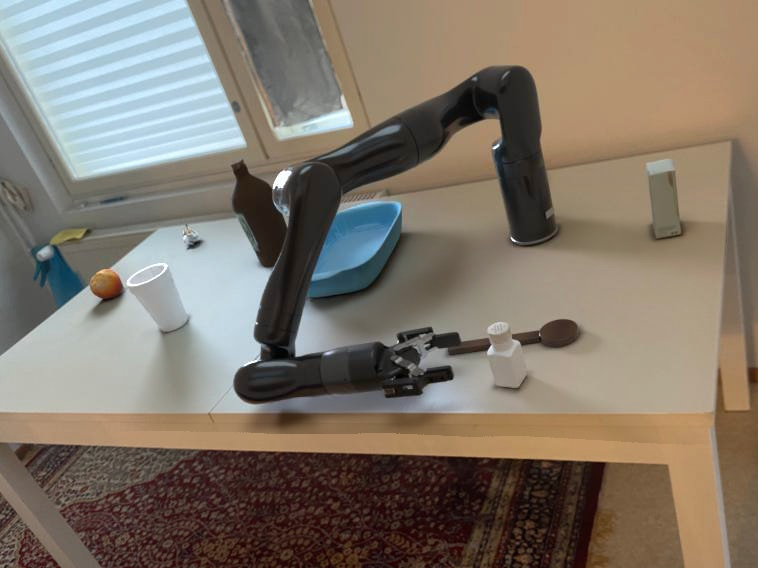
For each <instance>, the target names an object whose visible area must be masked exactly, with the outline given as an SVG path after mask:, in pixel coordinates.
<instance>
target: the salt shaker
mask: <svg viewBox="0 0 758 568" xmlns="http://www.w3.org/2000/svg"><path fill="white" fill-rule="evenodd" d="M486 332H487V336H488V338H489V340H490V343H491V344H492V345H491V347H490V348H489V349H487V352H486V354H487V355H486V356H487V360H488V363H489V367H490V371H491V374H492V377H493V381H494V384H495V385H496V386H497V387H504V388H513V389H516V388H517V389H518V388H519V387H520V386H521V384H522V383H523V381H524V380H525V378H526V377H527V376H528V375H527V374H528V368H527V364H526V360H525V356H524V352H523V348H522V345H521V344H520V342H519V341H517V340H513V339H512V334H513V333H512V331H511V327H510V324H509V323H508V322H505V321H497V322H494V323H492V324H490V325H489V326H488V327H487V330H486Z"/></svg>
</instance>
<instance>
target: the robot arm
mask: <svg viewBox="0 0 758 568" xmlns="http://www.w3.org/2000/svg"><path fill="white" fill-rule="evenodd" d="M538 94H539V93H538V89H537V85H536V82H535V79H534V77H533V74H532V73H531V72H530V70H529V69H528V68H527V67H525V66H523V65H518V64H503V65H502V64H499V65H498V64H497V65H489V66H487V67H486V66H485V67H484V68H481V69H480V70H478V71H477V72H475V73H473V74H472V75H470V76H469V77H467V78H466V79H465V80H463V81H461V82H459V83H458V84H457V85H456V86H453V88H451V89H449V90H447V91H445V92H444V93H442V94H438V95H437V96H434V97H431V98H429V99H426V100H424V101H422V102H420V103H418V104H415V105H413V106H411V107H408V108H406V109H404V110H402V111H400V112H397V113H396V114H394V115H392V116H390V117H388V118H387V119H385V120H382V121H381V122H379V123H377V124H376V125H374V126H371V127H370V128H369V129H366V130H365V131H363V132H362V133H360V134H359V135H357V136H355V137H353V138H351V140H349V141H347V142H346V143H344V144H343V145H340V146H339V147H337V148H334V149H333V150H330V151H327V152H326V153H322V154H320V155H318V156H315V157H312V158H309V159H305V160H304V161H300V162H297V163H294V164H291V165H289V166H286V167H285V168H284V169H282V171H281V172H280V173H279V174H278V175H277V177H276V178H275V180H274V182H273V185H272V189H273V190H272V197H273V201H274V204H275V206H276V208H277V209H278V210H279V211H280V212H281V213H282V214H283V216H284V217H287V218H288V222H287V223H288V224H287V228H288V229H287V234H286V238H285V241H284V245H283V247H282V250H281V253H280V256H279V258H278V260H277V262H276V264H275V265H273V268H272V269H271V273H270V274H269V277H268V278H267V281H266V282H265V286H264V288H263V291H262V294H261V297H260V300H259V306H258V308H257V313H256V317H255V322H254V326H253V335H252V337H253V339H254V340H255V342H256V343H258V344H259V345H260V351H259V359H258V360H257V359H256V360H251V361H248V362H246V363H244V364H242V365H241V366H240V367H239V368H238V369H237V370H236V372H235V373H234V376H233V380H232V387H233V391H234V393H235V394H236V396H237V398H239V399H240V400H241V401H242V402H244V403H246V404H249V405H252V406H253V405H254V406H255V405H257V406H258V405H268V404H275V403H279V402H281V401H284V400H291V399H298V398H302V399H303V398H305V399H306V398H321V397H329V396H347V395H356V394H364V393H370V392H371V393H372V392H378V391H382V393H383V396H384V398H385V399H395V398H396V399H397V398H406V397H407V398H408V397H418V396H422V395H423V393H424V388H427V387H429V386H430V385H431V384H437V383H438V384H439V383H446V382H448V381H453V380H454V378H455V373H454V370H453V367H452V366H451V365H449V364H448V365H440V366H433V367H427V368H426V369H424V368H421V367H419V366H420V364H421V361H423V360H425V359H426V358H427V357H428V354H429V353H431V352H433V351H435V350H437V349H438V350H441V349H448V348H449V347H456V346H460V345H461V342H462V339H461V336H460V333H459V332H457V331H450V332H445V333H438V334H436V333H435V332H434V329H433V327H432V326H427V327H426V326H425V327H420V328H415V329H411V330H406V331H400V332H397V333H396V334H395V335H396V338H397V339H396V340H397V342H396V343H395V344H393V345H390V346H387V345H385V344H384V343H382V342H381V341H371V342H365V343H358V344H353V345H346V346H340V347H336V348H332V349H329V350H325V351H318V352H311V353H306V354H302V355H297V351H296V349H297V348H296V341H297V338H298V334H299V331H300V330H299V329H300V327H301V321H302V317H303V313H304V309H305V305H306V301H307V298H308V297H307V293H308V290H309V286H310V283H311V279H312V276H313V273H314V270H315V267H316V264H317V261H318V259H319V256H320V253H321V251H322V248H323V245H324V243H325V240H326V237H327V235H328V233H329V230H330V228H331V226H332V223H333V221H334V219H335V216H336V214H337V213H338V212H339V208H340V206H341V202H342V199H343V197H344V196H345V195H347V194H349V193H350V192H352V191H354V190H356V189H358V188H361V187H364V186H367V185H370V184H374V183H379V182H381V181H384V180H388V179H390V178H393V177H396V176H398V175H402V174H404V173H407V172H408V171H409V172H410V171H411V170H413V169H415V168H417V167H419V166H421V165H423V164H425V163H427V162H428V161H431V159H433V158H435V157H437V155H439V154H440V153H441V152H442V151H443V150H444V149H445V148H446V147H447V145H448V144H449V142H450V141H451V140H452V138H453V137H454V136H455V135H456V134H457V133H458V132H460V131H462V130H463V129H466V128H468V127H470V126H472V125H475V124H477V123H480V122H483V121H487V120H495V121H496V120H498V121H499V128H500V135H501V136H499V137H497V138H496V139H495V140H494V141H493V142H492V143H491V145H490V153H491V157H492V161H493V166H494V170H495V174H496V178H497V182H498V187H499V191H500V196H501V199H502V203H503V207H504V211H505V217H506V220H507V221H506V222H507V225H508V229H509V234H510V240H511V242H512V243H513V244H515V245H518V246H533V245H537V244H542V243H544V242H546V241H548V240H550V239H552V238H554V236H555V235H556V234H557V233H558V231H559V226H558V224H557V219H556V214H555V213H556V212H555V206H554V204H553V198H552V194H551V189H550V188H551V187H550V184H549V178H548V174H547V173H548V172H547V169H546V168H547V167H546V163H545V162H546V161H545V158H544V153H543V148H542V143H541V139H542V131H543V124H542V116H541V109H540V108H541V107H540V101H539V95H538ZM421 335H423V336H421ZM425 345H426V346H425ZM415 347H416V348H415ZM296 355H297V356H296ZM408 386H409V387H410V386H411V387H412V388H408Z"/></svg>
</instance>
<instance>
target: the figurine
mask: <svg viewBox="0 0 758 568" xmlns="http://www.w3.org/2000/svg"><path fill="white" fill-rule="evenodd" d="M184 227H185V229H184V230H183V232H182V236H183V238H182V242H183V244H187V245H189V246H194V245H195V243H196V242H197V241H198V239H199V233H198V232H197V231H196V230H194V229H192V228H191V227H189V225H188V224H187V223H185V224H184Z"/></svg>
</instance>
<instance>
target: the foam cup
mask: <svg viewBox="0 0 758 568" xmlns="http://www.w3.org/2000/svg"><path fill="white" fill-rule="evenodd" d="M126 286H127V288H128V289H129V291H130V293H131V295H133V296H134V297H135V298H136V300H137V301H138V302H139V303H140V304H141V306H142V307H143V309H144V310H145V311H146V312H147V313H148V315H149V316H150V317H151V319H152V320H153V321H154V322H155V324H156V325H157V326H158V327H159V329H160V330H161V331H162V332H164V333H169V332H172V331H175V330H177V329H180V328H181V327H183V326H184V325H185V324H186V323H187V322H188V319H189V317H188V313H187V311H186V309H185V307H184V303H183V301H182V298H181V295H180V293H179V290H178V288H177V285H176V283H175V280H174V278H173V273H172V271H171V269H170V266H169V265H168V264H166V263H156V264H152V265H149V266H147V267H144V268H142V269H141V270H139V271H137V272H135V273H134V274H132V275H131V276H130V277H129V278H128V279H127V281H126Z"/></svg>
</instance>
